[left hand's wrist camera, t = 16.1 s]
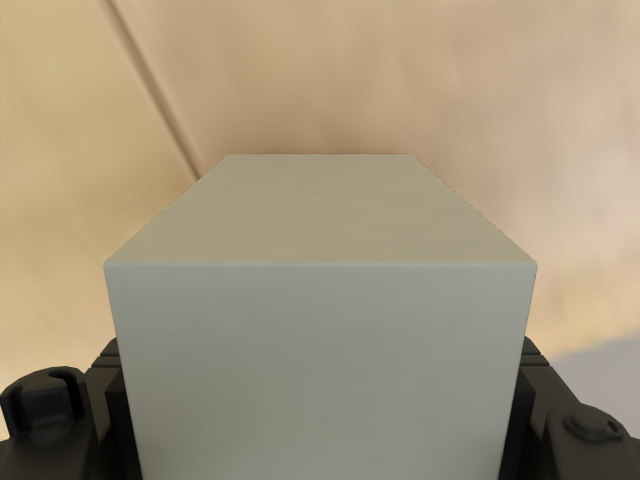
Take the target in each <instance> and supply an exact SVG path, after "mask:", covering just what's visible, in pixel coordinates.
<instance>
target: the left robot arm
mask: <svg viewBox="0 0 640 480" xmlns="http://www.w3.org/2000/svg"><path fill="white" fill-rule="evenodd" d="M0 406H1V409H2V412H3V415H4V419H5V422H6V425H7V428H8V431H9V435H10V437H9V439H7V440H4V441H0V480H143V478H142V472H141V467H140V462H139V456H138V451H137V445H136V440H135V435H134V429H133V424H132V418H131V413H130V408H129V402H128V397H127V391H126V386H125V381H124V375H123V370H122V364H121V359H120V354H119V348H118V343H117V337H115V338H114V339H112V340H111V341H110V342H109V343H108V345H107V346H106V347H105V348H104V350H103V351H102V352H101V354H100V357H97V359H96V360H95V361H94V362H93V364H92V365H91V368H89V369H88V370H87V371H86V373H85V374H84V373H82V372H81V371H80V370H79V369H77V368H73V367H68V366H61V367H50V368H46V369H43V370H39V371H35V372H33V373H31V374H28V375H26V376H24V377H22V378H19V379H18V380H17V381H15V382H14V383H12V384H11V385H9V386H8V387H7V388H6V389H5V390H4V391H3V392H2V394H1V395H0ZM498 480H640V439H636V438H633V437H630V435H629V433H628V432H627V431H626V429H625V428H624V426H623V425H622V424H621V423H619V422H618V421H617V420H616V419H614V418H613V417H612V416H611V415H609V414H607V413H605V412H603V411H601V410H599V409H597V408H595V407H592V406H589V405H586V404H582V403H580V402H579V400H578V399H577V398H576V396H575V395H574V394H573V393H572V391H571V390H570V389H569V388H568V386H567V385H566V384H565V383H564V381H563V380H562V379H561V378H560V376H559V375H558V374H557V372H556V371H555V370H554V369H553V367H551V366H550V365H549V362H548V361H547V360H546V359H545V357H544V356H543V355H541V352H540V351H539V350H538V348H537V347H536V346H535V345H534V343H533V342H532V341H531V340H530V339H529V338H527V337H526V336H524V342H523V347H522V353H521V358H520V363H519V369H518V374H517V380H516V385H515V390H514V396H513V401H512V406H511V412H510V417H509V423H508V428H507V433H506V439H505V444H504V449H503V455H502V460H501V466H500V471H499V476H498Z"/></svg>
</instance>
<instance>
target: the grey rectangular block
mask: <svg viewBox="0 0 640 480" xmlns="http://www.w3.org/2000/svg"><path fill="white" fill-rule="evenodd" d="M103 267H104V273H105V278H106V284H107V289H108V294H109V300H110V305H111V310H112V316H113V321H114V327H115V332H116V337H117V343H118V348H119V354H120V359H121V364H122V370H123V375H124V381H125V386H126V391H127V397H128V402H129V408H130V413H131V418H132V424H133V429H134V435H135V440H136V445H137V451H138V456H139V462H140V467H141V472H142V478H143V480H498V476H499V471H500V466H501V460H502V455H503V449H504V444H505V439H506V433H507V428H508V423H509V417H510V412H511V406H512V401H513V396H514V390H515V385H516V380H517V374H518V369H519V363H520V358H521V353H522V347H523V342H524V336H525V331H526V326H527V320H528V315H529V310H530V304H531V299H532V293H533V288H534V283H535V277H536V272H537V262H536V261H535V260H534V259H533V258H531V257H530V256H529V255H528V254H527V253H526V252H524V251H523V250H522V249H521V248H520V247H519V246H518V245H516V244H515V243H514V242H513V241H512V240H511V239H509V238H508V237H507V236H506V235H505V234H504V233H503V232H501V231H500V230H499V229H498V228H497V227H496V226H494V225H493V224H492V223H491V222H490V221H489V220H487V219H486V218H485V217H484V216H483V215H482V214H481V213H479V212H478V211H477V210H476V209H475V208H474V207H472V206H471V205H470V204H469V203H468V202H467V201H465V200H464V199H463V198H462V197H461V196H460V195H459V194H457V193H456V192H455V191H454V190H453V189H452V188H450V187H449V186H448V185H447V184H446V183H445V182H444V181H442V180H441V179H440V178H439V177H438V176H437V175H435V174H434V173H433V172H432V171H431V170H430V169H428V168H427V167H426V166H425V165H424V164H423V163H422V162H420V161H419V160H418V159H417V158H416V157H415V156H413V155H412V154H229V155H227V156H226V157H225V158H223V159H222V160H221V161H220V162H219V163H218V164H217V165H215V166H214V167H213V168H212V169H211V170H210V171H209V172H207V173H206V174H205V175H204V176H203V177H202V178H200V179H199V180H198V181H197V182H196V183H195V184H194V185H192V186H191V187H190V188H189V189H188V190H187V191H185V192H184V193H183V194H182V195H181V196H180V197H179V198H177V199H176V200H175V201H174V202H173V203H172V204H170V205H169V206H168V207H167V208H166V209H165V210H164V211H162V212H161V213H160V214H159V215H158V216H157V217H156V218H154V219H153V220H152V221H151V222H150V223H149V224H147V225H146V226H145V227H144V228H143V229H142V230H141V231H139V232H138V233H137V234H136V235H135V236H134V237H132V238H131V239H130V240H129V241H128V242H127V243H126V244H124V245H123V246H122V247H121V248H120V249H119V250H117V251H116V252H115V253H114V254H113V255H112V256H111V257H109V258H108V259H107V260H106V261H105V262H104V266H103Z"/></svg>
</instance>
